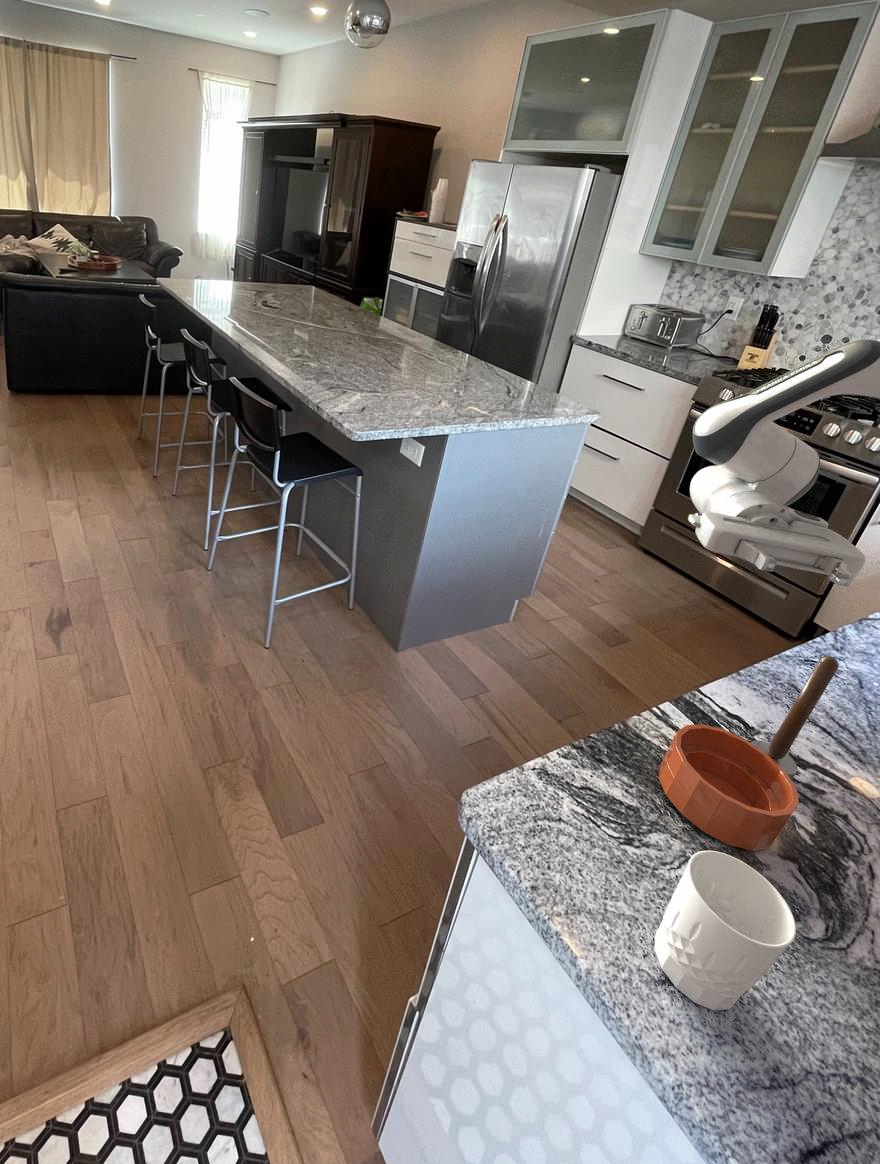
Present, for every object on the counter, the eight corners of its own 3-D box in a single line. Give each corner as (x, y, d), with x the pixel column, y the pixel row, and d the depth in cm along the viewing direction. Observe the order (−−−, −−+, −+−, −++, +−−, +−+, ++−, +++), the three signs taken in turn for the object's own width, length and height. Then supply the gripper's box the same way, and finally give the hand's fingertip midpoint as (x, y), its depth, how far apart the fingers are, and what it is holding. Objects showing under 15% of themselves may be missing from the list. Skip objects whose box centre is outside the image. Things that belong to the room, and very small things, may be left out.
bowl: (743, 773, 79) (763, 738, 76) (797, 866, 67) (823, 828, 65) (643, 750, 80) (660, 714, 78) (679, 837, 69) (701, 798, 66)
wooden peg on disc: (777, 756, 82) (842, 648, 75) (799, 790, 77) (870, 678, 71) (735, 747, 83) (796, 639, 76) (755, 779, 78) (821, 667, 71)
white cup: (649, 903, 61) (688, 833, 57) (741, 955, 58) (790, 885, 54) (644, 979, 55) (687, 906, 51) (747, 1043, 51) (803, 970, 48)
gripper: (691, 493, 95) (733, 536, 82) (835, 520, 93) (901, 569, 80) (675, 530, 97) (714, 577, 84) (815, 557, 95) (877, 609, 82)
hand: (807, 573), depth 82 cm, fingers open, 8 cm apart
